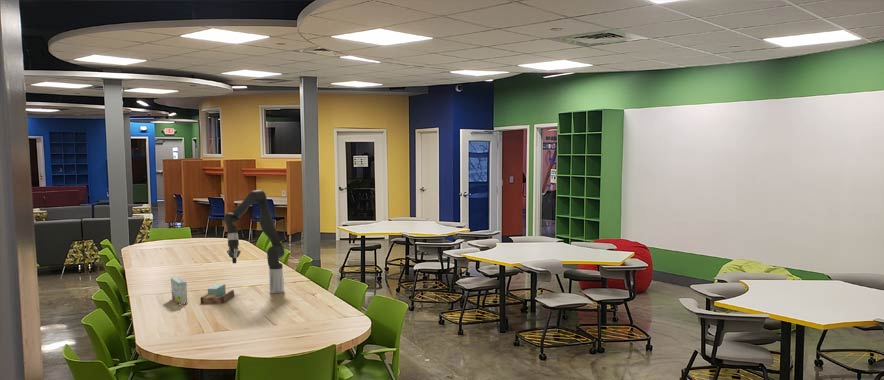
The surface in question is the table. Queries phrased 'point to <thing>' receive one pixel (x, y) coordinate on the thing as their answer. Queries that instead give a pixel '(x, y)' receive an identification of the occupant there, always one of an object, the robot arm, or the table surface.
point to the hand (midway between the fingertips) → (234, 263)
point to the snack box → (179, 290)
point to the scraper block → (217, 290)
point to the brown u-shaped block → (217, 298)
